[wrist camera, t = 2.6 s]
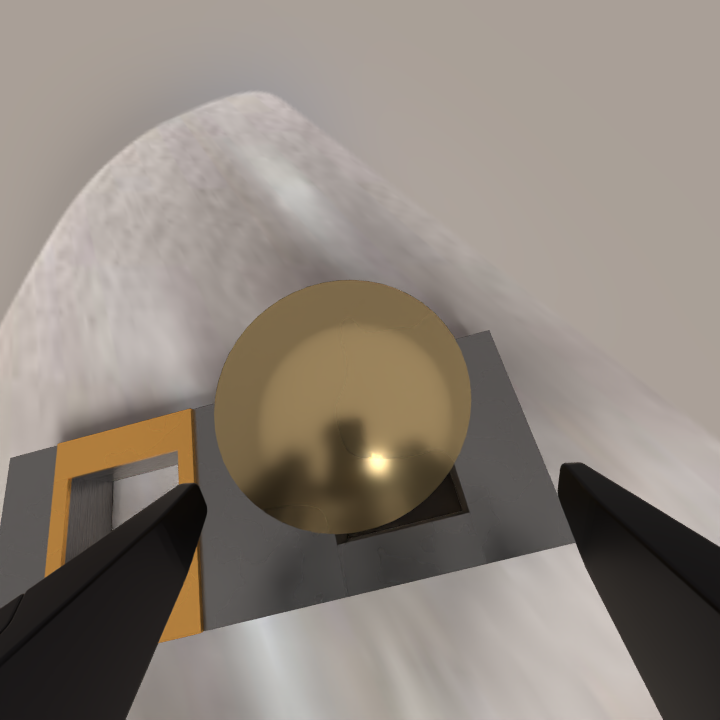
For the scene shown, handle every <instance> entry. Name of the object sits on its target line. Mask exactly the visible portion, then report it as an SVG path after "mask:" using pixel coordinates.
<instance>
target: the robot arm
mask: <svg viewBox="0 0 720 720" xmlns="http://www.w3.org/2000/svg"><path fill="white" fill-rule="evenodd" d="M558 497H559V501H560V503H561V506H562V509H563V511H564V514H565V516H566V519H567V522H568V524H569V527H570V529H571V532H572V534H573V537H574V540H575V542H576V545H577V547H578V550H579V553H580V555H581V558H582V560H583V562H584V565H585V567H586V569H587V571H588V573H589V575H590V577H591V579H592V581H593V583H594V585H595V587H596V589H597V591H598V593H599V595H600V597H601V599H602V601H603V603H604V605H605V607H606V609H607V611H608V613H609V615H610V617H611V619H612V621H613V622H614V624H615V626H616V628H617V630H618V632H619V634H620V636H621V638H622V640H623V642H624V644H625V646H626V648H627V650H628V652H629V654H630V656H631V658H632V660H633V662H634V664H635V666H636V668H637V669H638V671H639V673H640V675H641V677H642V679H643V681H644V683H645V685H646V687H647V689H648V691H649V693H650V695H651V697H652V699H653V701H654V703H655V705H656V707H657V709H658V711H659V713H660V715H661V716H662V718H663V720H720V547H719V546H717V545H716V544H714V543H713V542H711V541H709V540H708V539H706V538H704V537H703V536H701V535H700V534H698V533H696V532H695V531H693V530H691V529H690V528H688V527H686V526H685V525H683V524H682V523H680V522H678V521H677V520H675V519H673V518H672V517H670V516H668V515H667V514H665V513H664V512H662V511H660V510H659V509H657V508H655V507H654V506H652V505H650V504H649V503H647V502H646V501H644V500H642V499H641V498H639V497H637V496H636V495H634V494H632V493H631V492H629V491H628V490H626V489H624V488H623V487H621V486H619V485H618V484H616V483H615V482H613V481H611V480H610V479H608V478H606V477H605V476H603V475H601V474H600V473H598V472H597V471H595V470H593V469H592V468H590V467H588V466H587V465H585V464H583V463H580V462H574V463H564V464H562V465H561V468H560V475H559V483H558ZM206 516H207V504H206V502H205V499H204V497H203V494H202V492H201V489H200V487H199V485H198V484H197V483H182V484H179V485H178V486H176V487H175V488H173V489H172V490H171V491H169V492H168V493H166V494H165V495H163V496H162V497H160V498H159V499H158V500H156V501H155V502H153V503H152V504H150V505H149V506H147V507H146V508H145V509H143V510H142V511H140V512H139V513H137V514H136V515H134V516H133V517H132V518H130V519H129V520H127V521H126V522H124V523H123V524H122V525H120V526H119V527H117V528H116V529H114V530H113V531H111V532H110V533H109V534H107V535H106V536H104V537H103V538H101V539H100V540H98V541H97V542H96V543H94V544H93V545H91V546H90V547H88V548H87V549H85V550H84V551H83V552H81V553H80V554H78V555H77V556H75V557H74V558H73V559H71V560H70V561H68V562H67V563H65V564H64V565H62V566H61V567H60V568H58V569H57V570H55V571H54V572H52V573H51V574H49V575H48V576H47V577H45V578H44V579H42V580H41V581H39V582H38V583H36V584H35V585H34V586H32V587H31V588H29V589H28V590H27V591H26V592H25V594H20V595H19V596H18V597H16V598H15V599H13V600H12V601H10V602H9V603H8V604H6V605H5V606H3V607H2V608H0V720H126V717H127V715H128V713H129V710H130V708H131V706H132V703H133V701H134V699H135V696H136V694H137V692H138V689H139V687H140V685H141V682H142V680H143V678H144V675H145V673H146V671H147V668H148V666H149V664H150V661H151V659H152V657H153V654H154V652H155V650H156V647H157V645H158V643H159V640H160V638H161V636H162V633H163V631H164V629H165V626H166V624H167V622H168V619H169V617H170V615H171V612H172V610H173V608H174V605H175V603H176V601H177V598H178V596H179V594H180V591H181V589H182V587H183V584H184V582H185V579H186V577H187V574H188V571H189V569H190V566H191V563H192V560H193V557H194V554H195V551H196V547H197V544H198V541H199V538H200V535H201V532H202V529H203V526H204V523H205V520H206Z"/></svg>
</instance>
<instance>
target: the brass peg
mask: <svg viewBox="0 0 720 720" xmlns="http://www.w3.org/2000/svg"><path fill="white" fill-rule="evenodd" d="M470 412H471V387H470V379H469V375H468V370H467V366H466V363H465V360H464V357H463V355H462V352H461V350H460V348H459V346H458V344H457V342H456V340H455V338H454V336H453V335H452V333H451V332H450V331H449V329H448V328H447V326H446V325H445V324H444V323H443V322H442V320H441V319H440V318H439V317H438V316H437V315H436V314H435V313H434V312H433V311H432V310H430V309H429V308H428V307H427V306H425V305H424V304H423V303H422V302H420V301H419V300H417V299H415V298H414V297H412V296H411V295H409V294H407V293H405V292H402V291H400V290H398V289H396V288H393V287H390V286H387V285H383V284H380V283H374V282H369V281H359V280H340V281H332V282H325V283H320V284H317V285H313V286H309V287H306V288H304V289H301V290H299V291H296V292H294V293H292V294H290V295H288V296H286V297H284V298H282V299H281V300H279V301H278V302H276V303H275V304H273V305H272V306H270V307H269V308H267V309H266V310H265V311H264V312H263V313H262V314H260V315H259V316H258V317H257V318H256V319H255V320H254V321H253V322H252V323H251V324H250V325H249V326H248V327H247V328H246V330H245V331H244V332H243V334H242V335H241V336H240V337H239V339H238V340H237V342H236V343H235V345H234V347H233V348H232V350H231V352H230V353H229V355H228V358H227V360H226V362H225V364H224V366H223V369H222V372H221V375H220V378H219V381H218V386H217V391H216V396H215V407H214V421H215V432H216V438H217V443H218V447H219V450H220V453H221V456H222V459H223V462H224V464H225V466H226V468H227V469H228V471H229V473H230V475H231V477H232V479H233V480H234V481H235V483H236V484H237V486H238V487H239V488H240V490H241V491H242V492H243V493H244V494H245V495H246V496H247V497H248V498H249V499H250V501H251V502H252V503H253V504H255V505H256V506H257V507H259V508H260V509H261V510H262V511H264V512H265V513H266V514H268V515H270V516H271V517H273V518H275V519H277V520H279V521H280V522H282V523H285V524H287V525H290V526H293V527H295V528H298V529H301V530H306V531H311V532H315V533H326V534H345V533H356V532H361V531H365V530H369V529H373V528H377V527H379V526H382V525H384V524H387V523H389V522H392V521H394V520H396V519H398V518H399V517H401V516H403V515H405V514H406V513H408V512H410V511H411V510H413V509H414V508H415V507H416V506H418V505H419V504H420V503H422V502H423V501H424V500H425V499H427V498H428V497H429V495H430V494H431V493H432V492H433V491H434V490H435V489H436V488H437V487H438V486H439V485H440V484H441V483H442V481H443V480H444V478H445V477H446V476H447V474H448V473H449V472H450V470H451V469H452V467H453V465H454V463H455V461H456V459H457V457H458V455H459V454H460V451H461V448H462V446H463V443H464V440H465V438H466V434H467V430H468V425H469V420H470Z"/></svg>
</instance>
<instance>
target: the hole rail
mask: <svg viewBox="0 0 720 720" xmlns="http://www.w3.org/2000/svg"><path fill="white" fill-rule="evenodd" d="M455 340H456V342H457V344H458V346H459V348H460V350H461V352H462V355H463V357H464V360H465V363H466V366H467V370H468V375H469V379H470V387H471V412H470V420H469V425H468V430H467V434H466V438H465V440H464V443H463V446H462V448H461V451H460V454H459V455H458V457H457V459H456V461H455V463H454V465H453V467H452V469H451V470H450V474H451V477H452V480H453V483H454V487H455V490H456V493H457V496H458V499H459V503H460V506H461V509H462V511H460V512H455V513H451V514H447V515H443V516H439V517H435V518H431V519H427V520H423V521H419V522H415V523H411V524H407V525H403V526H398V527H394V528H390V529H386V530H382V531H378V532H374V533H370V534H366V535H362V536H358V537H354V538H350V539H348V538H347V533H345V534H326V533H315V532H311V531H306V530H301V529H298V528H295V527H293V526H290V525H287V524H285V523H282V522H280V521H279V520H277V519H275V518H273V517H271V516H270V515H268V514H266V513H265V512H264V511H262V510H261V509H260V508H259V507H257V506H256V505H255V504H253V503H252V502H251V501H250V499H249V498H248V497H247V496H246V495H245V494H244V493H243V492H242V491H241V490H240V488H239V487H238V486H237V484H236V483H235V481H234V480H233V479H232V477H231V475H230V473H229V471H228V469H227V468H226V466H225V464H224V462H223V459H222V456H221V453H220V450H219V447H218V443H217V438H216V432H215V421H214V407H215V404H211V405H207V406H204V407H200V408H196V409H191V408H190V409H186V410H183V411H179V412H175V413H171V414H168V415H164V416H160V417H156V418H153V419H149V420H145V421H141V422H138V423H134V424H130V425H127V426H123V427H119V428H115V429H112V430H108V431H104V432H100V433H97V434H93V435H89V436H85V437H82V438H78V439H74V440H70V441H67V442H63V443H59V444H58V445H57V446H54V447H50V448H46V449H43V450H39V451H35V452H31V453H28V454H24V455H20V456H16V457H13V458H10V464H9V471H8V478H7V484H6V491H5V498H4V505H3V512H2V518H1V525H0V608H2V607H3V606H5V605H6V604H8V603H9V602H10V601H12V600H13V599H15V598H16V597H18V596H19V595H20V594H25V592H26V591H27V590H28V589H29V588H31V587H32V586H34V585H35V584H36V583H38V582H39V581H41V580H42V579H44V578H45V577H47V576H48V575H49V574H51V573H52V572H54V571H55V570H57V569H58V568H60V567H61V566H62V565H64V564H65V563H67V562H68V561H70V560H71V559H73V558H74V557H75V556H77V555H78V554H80V553H81V552H83V551H84V550H85V549H87V548H88V547H90V546H91V545H93V544H94V543H96V542H97V541H98V540H100V539H101V538H103V537H104V536H106V535H107V534H109V533H110V532H111V515H112V488H113V481H116V480H120V479H123V478H127V477H131V476H135V475H139V474H143V473H146V472H150V471H154V470H158V469H162V468H166V467H170V466H173V465H177V464H178V473H179V484H182V483H197V484H198V485H199V487H200V489H201V492H202V494H203V497H204V499H205V502H206V504H207V516H206V520H205V523H204V526H203V529H202V532H201V535H200V538H199V541H198V544H197V547H196V551H195V554H194V557H193V560H192V563H191V566H190V569H189V571H188V574H187V577H186V579H185V582H184V584H183V587H182V589H181V591H180V594H179V596H178V598H177V601H176V603H175V605H174V608H173V610H172V612H171V615H170V617H169V619H168V622H167V624H166V626H165V629H164V631H163V633H162V636H161V638H160V640H159V643H161V642H165V641H169V640H174V639H178V638H182V637H186V636H190V635H195V634H199V633H202V632H203V631H207V630H211V629H215V628H219V627H224V626H228V625H232V624H236V623H240V622H245V621H249V620H253V619H257V618H261V617H266V616H270V615H274V614H278V613H282V612H287V611H291V610H295V609H299V608H303V607H308V606H312V605H316V604H320V603H324V602H329V601H333V600H337V599H341V598H345V597H350V596H354V595H358V594H362V593H366V592H370V591H375V590H379V589H383V588H387V587H391V586H396V585H400V584H404V583H408V582H412V581H417V580H421V579H425V578H429V577H433V576H438V575H442V574H446V573H450V572H454V571H459V570H463V569H467V568H471V567H475V566H480V565H484V564H488V563H492V562H496V561H501V560H505V559H509V558H513V557H517V556H521V555H526V554H530V553H534V552H538V551H542V550H547V549H551V548H555V547H559V546H563V545H568V544H572V543H576V542H575V540H574V537H573V534H572V532H571V529H570V527H569V524H568V522H567V519H566V516H565V514H564V511H563V509H562V506H561V503H560V501H559V497H558V495H557V493H556V490H555V488H554V485H553V483H552V481H551V478H550V476H549V473H548V471H547V469H546V466H545V464H544V461H543V459H542V456H541V454H540V452H539V449H538V447H537V444H536V442H535V440H534V437H533V435H532V432H531V430H530V428H529V425H528V423H527V420H526V418H525V416H524V413H523V411H522V408H521V406H520V403H519V401H518V399H517V396H516V394H515V391H514V389H513V387H512V384H511V382H510V379H509V377H508V375H507V372H506V370H505V367H504V365H503V363H502V360H501V358H500V355H499V353H498V351H497V348H496V346H495V343H494V341H493V338H492V336H491V334H490V331H489V330H488V331H484V332H481V333H477V334H473V335H469V336H466V337H462V338H458V339H455Z"/></svg>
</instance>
